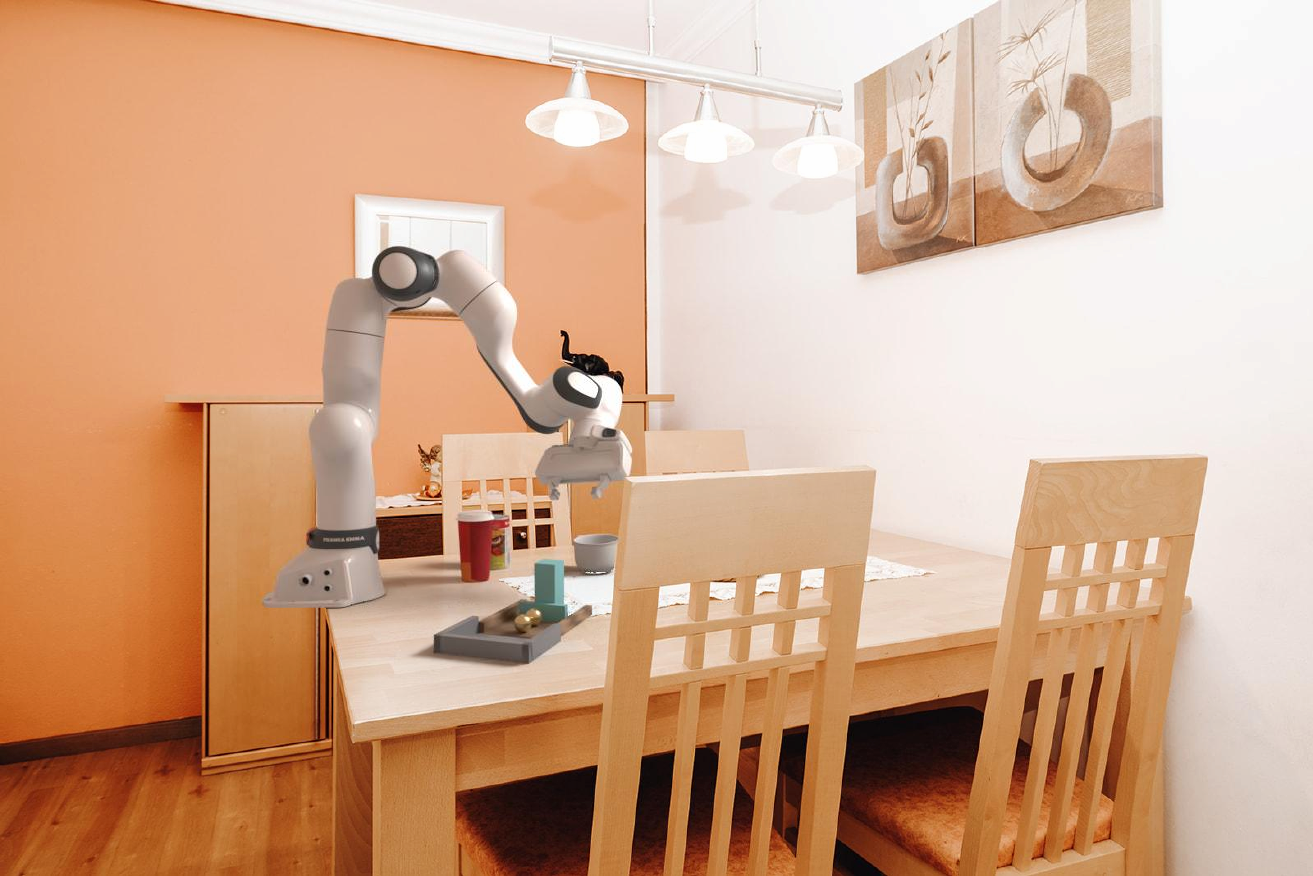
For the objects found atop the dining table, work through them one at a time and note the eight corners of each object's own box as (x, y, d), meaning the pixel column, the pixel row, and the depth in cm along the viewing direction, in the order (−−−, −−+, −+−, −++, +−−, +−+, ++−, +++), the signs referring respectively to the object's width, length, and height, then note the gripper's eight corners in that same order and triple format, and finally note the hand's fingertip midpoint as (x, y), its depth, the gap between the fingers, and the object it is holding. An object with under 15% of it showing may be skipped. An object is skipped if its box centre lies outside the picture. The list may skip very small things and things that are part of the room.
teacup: (628, 573, 178) (628, 539, 178) (585, 578, 172) (585, 543, 172) (600, 562, 190) (600, 530, 190) (560, 567, 184) (560, 534, 184)
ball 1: (514, 635, 130) (514, 617, 130) (513, 630, 133) (513, 612, 132) (532, 634, 130) (532, 616, 130) (531, 629, 133) (531, 611, 133)
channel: (521, 609, 147) (521, 599, 146) (592, 616, 142) (592, 605, 142) (476, 634, 131) (475, 622, 131) (553, 642, 126) (553, 630, 126)
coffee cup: (499, 575, 175) (499, 510, 174) (487, 584, 167) (487, 515, 166) (463, 574, 176) (463, 509, 175) (450, 583, 168) (449, 514, 167)
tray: (472, 633, 132) (472, 615, 131) (560, 642, 127) (560, 624, 127) (433, 653, 121) (433, 634, 120) (529, 664, 116) (528, 645, 116)
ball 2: (525, 628, 134) (525, 611, 133) (524, 623, 136) (524, 607, 136) (542, 627, 134) (542, 610, 134) (541, 622, 137) (541, 606, 137)
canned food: (475, 564, 188) (475, 515, 187) (508, 562, 190) (508, 514, 189) (476, 570, 180) (476, 519, 180) (510, 569, 182) (510, 518, 181)
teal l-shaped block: (532, 611, 145) (531, 558, 144) (576, 615, 142) (576, 561, 142) (519, 618, 140) (518, 563, 139) (564, 622, 137) (564, 567, 137)
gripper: (540, 437, 163) (521, 490, 155) (628, 429, 155) (614, 486, 147) (553, 455, 167) (535, 508, 159) (639, 449, 160) (626, 504, 151)
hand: (574, 497), depth 153 cm, fingers open, 8 cm apart
